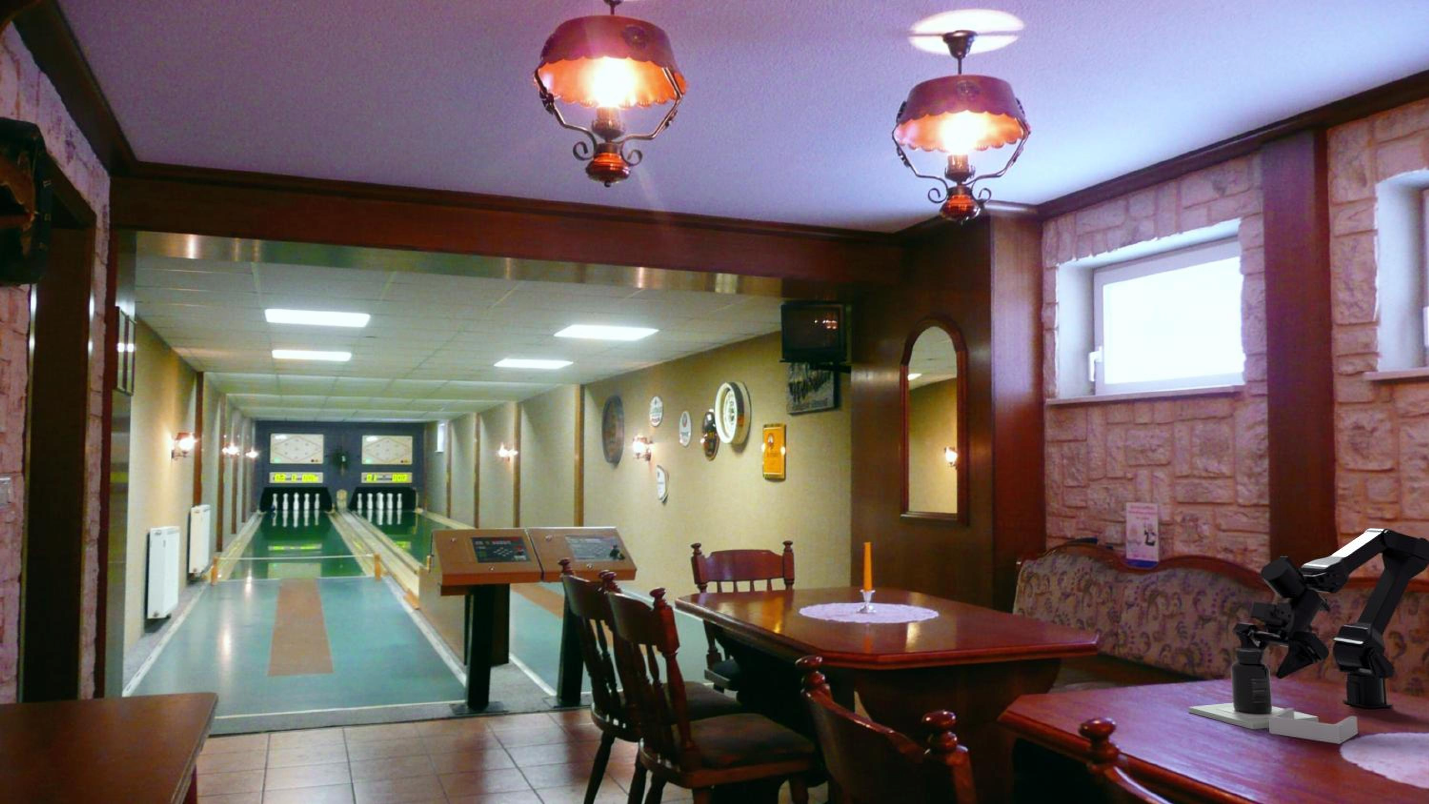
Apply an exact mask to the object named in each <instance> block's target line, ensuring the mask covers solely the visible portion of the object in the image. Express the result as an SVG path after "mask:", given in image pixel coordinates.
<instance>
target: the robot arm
mask: <svg viewBox="0 0 1429 804" xmlns="http://www.w3.org/2000/svg"><path fill="white" fill-rule="evenodd" d="M1379 554H1380V555H1381V560H1382V564H1383V568H1384V569H1383V571H1382V573H1381V574H1380V576H1379V578H1378V580H1377V582H1376V585H1375V586H1374V588H1373V590H1372V592H1371V594H1370V596H1369V598H1368V600H1367V602H1366V604H1365V606H1364V608H1363V609H1362V612H1361V613H1360V616H1359V617H1358V619H1357V621H1356V623H1355V624H1353V625H1352V626H1351V625H1342V626H1340V628H1339V630H1338V633H1337V635H1336V636H1335V637H1334V638H1333V640H1332V641H1333V642H1334V644H1333V645H1332V649H1331V650H1332V653H1333V658H1334V660H1335V662H1336V665H1337V668H1338V672H1340V673H1346V679H1347V680H1346V681H1345V687H1346V689H1345V690H1346V699H1342V703H1345V704H1348V705H1352V706H1357V707H1359V708H1364V709H1375V708H1376V709H1379V708H1392V707H1394V704H1393V703H1390V702H1389V703H1388V702H1387V689H1386V688H1387V687H1386V679H1389V678H1393V677H1394V672H1395V666H1394V665H1393V664H1392V663H1391V662H1390V660H1389V659H1388V658H1387V657H1386V656H1385V651H1386V645H1385V642H1384V637H1383V635H1384V633H1385V631H1386V629H1387V627H1388V625H1389V623H1390V621H1391V619H1392V617H1393V615H1394V613H1395V611H1396V609H1397V607H1398V605H1399V603H1400V601H1401V599H1402V597H1403V595H1404V594H1405V591H1406V590H1407V588H1408V585H1409V583H1410V581H1411V580H1412V579H1413V578H1415V577H1417V576H1418V575H1420V574H1422V573H1423V572H1425V571H1426V569H1427V568H1428V567H1429V540H1428V539H1427V538H1425V537H1419V536H1418V537H1416V536H1415V537H1414V536H1412V535H1408V534H1404V533H1401V532H1398V531H1395V530H1392V529H1391V528H1383V527H1381V528H1380V527H1377V528H1376V527H1371V528H1368V529H1366V530H1365V531H1364V532H1363V534H1361V535H1360V536H1359V537H1357V538H1355V539H1354V540H1352V541H1351V542H1349V543H1348V544H1346V545H1345V546H1343V547H1342V548H1340V549H1339V550H1337V551H1336V552H1334V553H1332V555H1329V556H1327V557H1322V558H1318V559H1313V560H1311V561H1309V562H1306V563H1304V564H1303V565H1301V567H1300V568H1298V567H1297V566H1296V565H1295V563H1294V562H1293V560H1292V558H1290V556H1287V555H1285V556H1284V555H1280V556H1279V557H1278V558H1277V559H1275V560H1273V561H1271V562H1269V563H1267V564H1266V565H1263V567H1262V568H1261V570H1260V577H1261V579H1262V580H1263V581H1264V583H1266V584H1267V585H1268V587H1270V588H1271V590H1272V591H1273V593H1275V594H1276V595H1277V596H1278V597H1279V598H1281V599H1286V601H1285V602H1281V601H1279V602H1277V604H1275V603H1270V602H1263V601H1252V606H1251V608H1250V612H1249V617H1250V618H1252V619H1255V620H1257V621H1260V622H1261V624H1260V625H1261V627H1262V628H1263V629H1266V630H1267V631H1266V632H1265V631H1262V630H1261V629H1260V628H1259V626H1257V624H1255V623H1249V622H1237V623H1236V624H1235V626H1234V627H1233V629H1232V633H1234V634H1235V636H1236V638H1237V639H1238V640H1239V641H1240V648H1253V649H1260V650H1262V655H1263V654H1264V652H1263V650H1265V649H1266V648H1267V647H1269V646H1268V645H1269V644H1272V645H1278V646H1281V647H1286V648H1287V649H1288V650H1287V652H1286V654H1285V656H1284V658H1283V660H1282V662H1281V664H1280V665H1279V666H1278V668H1277V671H1276V674H1275V677H1276V678H1277V680H1282V679H1283V678H1285V677H1288V676H1290V675H1292V674H1293V673H1295V672H1298V671H1299V670H1302V669H1304V668H1306V667H1309V666H1312V665H1317V664H1318V663H1319V662H1322V663H1325V662H1326V660H1327V659H1328V657H1329V655H1330V649H1329V647H1328V646H1327V645H1326V644H1325V643H1324V642H1323V640H1322V639H1321V638H1320V637H1319V636H1318V635H1317V633H1316V632H1312V631H1313V630H1314V628H1313V627H1312V626H1311V623H1312V622H1313V620H1314V618H1315V617H1316V616H1317V614H1318V613H1319V612H1323V613H1330V612H1331V608H1330V605H1329V602H1328V598H1326V597H1322V596H1321V595H1320V594H1319V593H1323V594H1337V593H1338V592H1340V591H1341V590H1342V589H1343V588H1344V587H1345V586H1346V585H1347V584H1348V583H1349V581H1350V575H1351V574H1352V573H1353V572H1355V571H1356V570H1358V569H1359V568H1361V567H1362V566H1363V565H1364V564H1366V563H1368V562H1369V561H1370V560H1372V559H1373V558H1375V557H1376V556H1378V555H1379Z"/></svg>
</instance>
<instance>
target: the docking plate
mask: <svg viewBox="0 0 1429 804" xmlns="http://www.w3.org/2000/svg"><path fill="white" fill-rule="evenodd" d="M1284 709H1285V708H1283V707H1278V706H1273V705H1272V712H1271V713H1268V714H1247V713H1241V712H1238V711H1236V710H1235V709H1234V706H1233V702H1228V703H1227V702H1226V703H1216V704H1208V705H1207V704H1206V705H1196V706H1188V713H1190V714H1195V715H1198V716H1202V717H1205V718H1208V719H1209V718H1210V719H1213V720H1217V721H1220V722H1224V723H1227V724H1232V725H1236V726H1240V727H1243V728H1247V729H1249V730H1260V729H1269V716H1271V715H1273V714H1275V713H1277V712H1280V711H1282V710H1284ZM1294 719H1298V720H1305V721H1312V722H1319V717H1318V716H1316V715H1311V714H1307V713H1303V712H1300V711H1296V710H1294Z"/></svg>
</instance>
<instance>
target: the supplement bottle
mask: <svg viewBox="0 0 1429 804" xmlns="http://www.w3.org/2000/svg"><path fill="white" fill-rule="evenodd" d="M1262 652H1263V650H1260V649H1253V648H1241V647H1239V648H1238V647H1237V648H1235V650H1234V653H1235V654H1234V655H1235V656H1234V659H1236V661H1234V662H1233V663H1232V664H1231V666H1230V677H1231V688H1232V691H1231V692H1232V703H1233V706H1234V709H1235V710H1236V711H1238V712H1241V713H1247V714H1268V713H1271V712H1272V706H1273V702H1272V689H1271V687H1272V686H1271V677H1270V676H1271V675H1270V668H1269V666H1268V665H1267V664H1266V663H1264V662H1263V660H1264V657H1263V654H1262Z"/></svg>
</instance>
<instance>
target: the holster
mask: <svg viewBox="0 0 1429 804" xmlns="http://www.w3.org/2000/svg"><path fill="white" fill-rule="evenodd" d="M1283 709H1284V710H1282V711H1280V712H1277V713H1275V714H1273V715H1271V716H1269V728H1268V731H1269V734H1273V735H1279V736H1285V737H1286V736H1287V737H1294V738H1299V739H1305V740H1312V741H1317V742H1325V743H1331V744H1338V745H1340V744H1342V743H1344V742H1345V741H1347V740H1349V739H1350V738H1353V737H1354V736H1356V735H1357V734H1358V731H1359V730H1358V720H1357V719H1358V718H1357V716H1353V715H1350V716H1348V717H1345V718H1343V719H1342V720H1341V721H1338V722H1336V723H1333V724H1332V723H1327V722H1326V723H1325V722H1319V721H1318V722H1312V721H1305V720H1298V719H1294V711H1295V709H1294V708H1293V707H1287V708H1283Z"/></svg>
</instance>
